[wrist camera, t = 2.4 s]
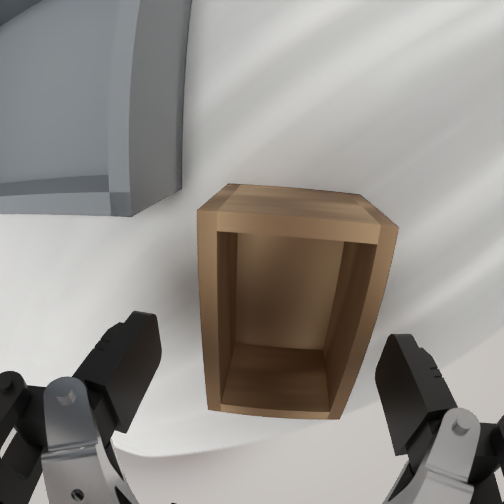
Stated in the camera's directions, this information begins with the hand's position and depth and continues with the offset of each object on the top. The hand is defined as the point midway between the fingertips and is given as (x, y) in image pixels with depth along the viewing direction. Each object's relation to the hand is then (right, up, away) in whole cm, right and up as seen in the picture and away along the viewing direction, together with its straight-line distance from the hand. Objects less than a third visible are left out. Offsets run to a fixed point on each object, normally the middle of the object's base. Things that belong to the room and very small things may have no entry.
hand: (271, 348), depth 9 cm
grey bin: (-11, +13, +2) cm, 17 cm away
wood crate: (+1, +2, +5) cm, 6 cm away
